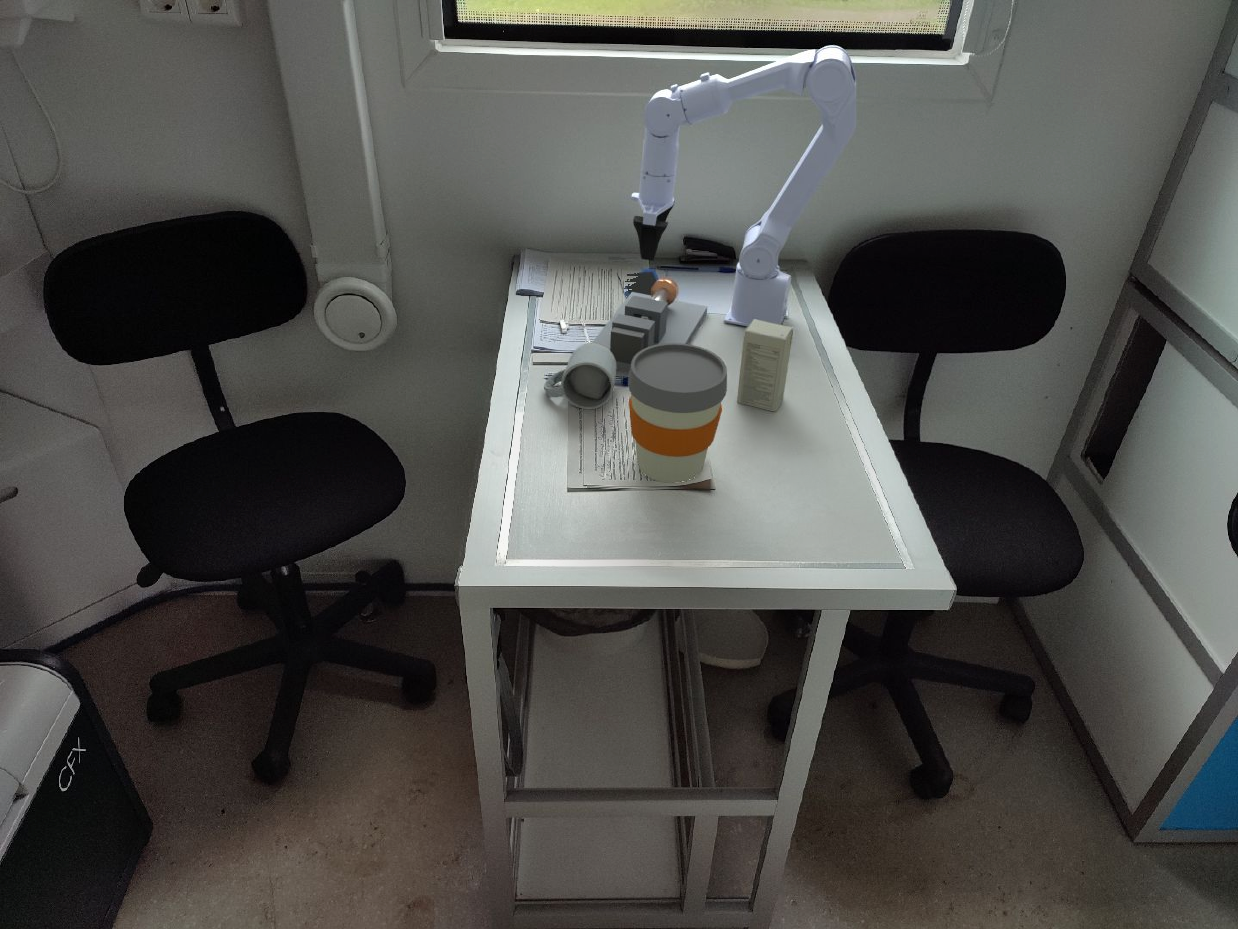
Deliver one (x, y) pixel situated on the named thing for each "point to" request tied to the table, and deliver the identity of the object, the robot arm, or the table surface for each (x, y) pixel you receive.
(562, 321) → the picture light
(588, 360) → the ceramic mug
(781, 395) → the skincare box
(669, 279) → the copper and silver rod
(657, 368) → the reusable coffee cup
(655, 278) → the cell phone
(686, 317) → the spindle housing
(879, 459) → the table surface
